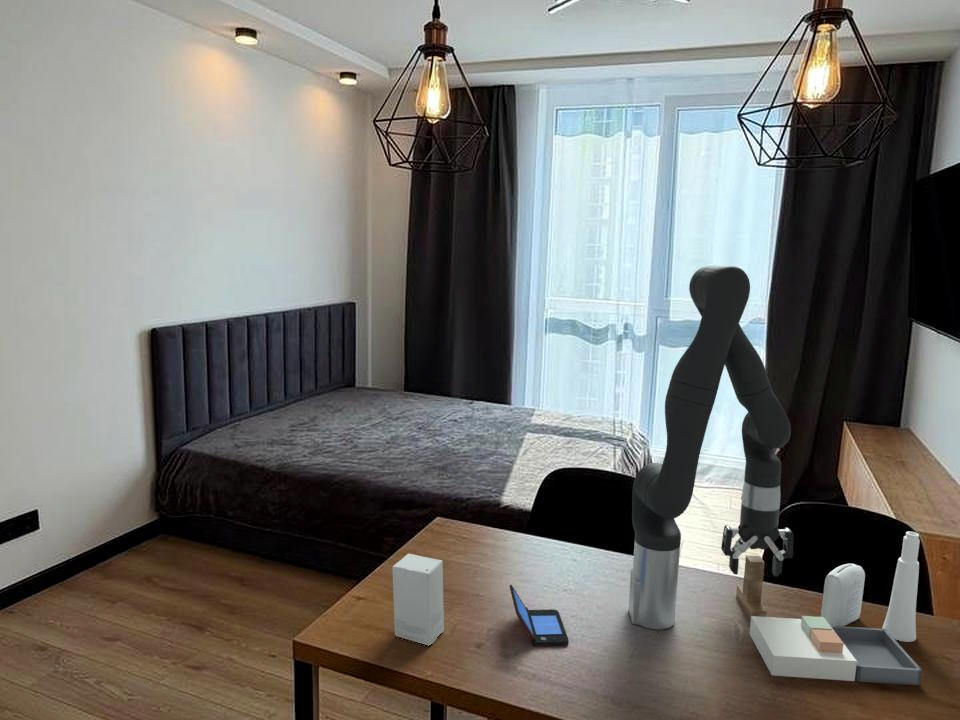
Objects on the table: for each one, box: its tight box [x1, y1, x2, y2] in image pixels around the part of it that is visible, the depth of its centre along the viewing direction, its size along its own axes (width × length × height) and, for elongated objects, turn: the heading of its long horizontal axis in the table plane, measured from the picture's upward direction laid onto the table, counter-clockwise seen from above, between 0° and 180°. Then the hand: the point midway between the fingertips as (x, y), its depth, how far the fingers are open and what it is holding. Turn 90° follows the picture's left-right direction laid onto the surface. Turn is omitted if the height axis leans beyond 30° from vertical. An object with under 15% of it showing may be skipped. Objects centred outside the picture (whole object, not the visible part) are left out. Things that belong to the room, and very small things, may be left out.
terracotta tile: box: [810, 629, 844, 653], centre depth 129 cm, size 4×4×2 cm
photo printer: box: [820, 563, 866, 627], centre depth 144 cm, size 10×4×12 cm, turn 123°
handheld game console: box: [509, 584, 570, 648], centre depth 139 cm, size 12×11×7 cm
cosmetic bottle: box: [881, 531, 921, 643], centre depth 139 cm, size 6×6×22 cm
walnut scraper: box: [735, 554, 768, 624], centre depth 148 cm, size 3×11×12 cm, turn 175°
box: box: [831, 625, 923, 686], centre depth 131 cm, size 11×14×3 cm
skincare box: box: [392, 553, 445, 647], centre depth 136 cm, size 8×7×16 cm
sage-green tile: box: [800, 615, 833, 637], centre depth 134 cm, size 4×4×2 cm
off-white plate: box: [749, 616, 857, 682], centre depth 132 cm, size 15×14×4 cm
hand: (754, 573), depth 148 cm, fingers open, 8 cm apart
